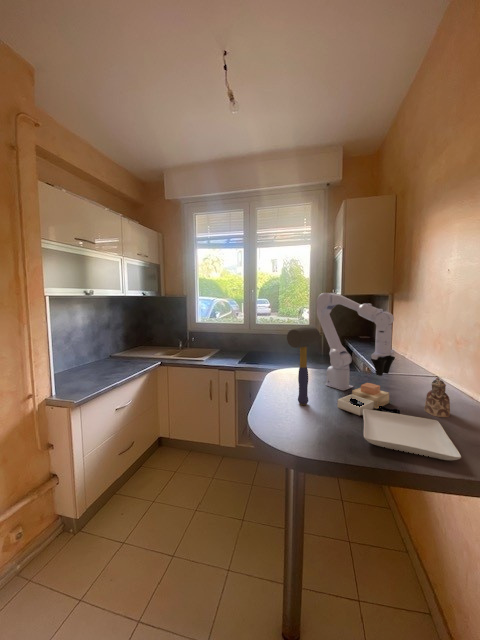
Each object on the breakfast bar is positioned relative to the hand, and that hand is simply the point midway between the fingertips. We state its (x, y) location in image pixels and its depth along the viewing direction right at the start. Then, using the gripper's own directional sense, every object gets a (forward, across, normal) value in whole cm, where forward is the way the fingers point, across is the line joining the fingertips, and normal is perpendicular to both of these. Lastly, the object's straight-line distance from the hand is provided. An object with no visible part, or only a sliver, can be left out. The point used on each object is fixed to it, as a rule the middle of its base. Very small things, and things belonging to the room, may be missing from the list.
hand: (382, 374), depth 105 cm
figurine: (+10, 0, -19) cm, 21 cm away
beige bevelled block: (+9, -9, 0) cm, 13 cm away
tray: (+9, -20, 0) cm, 22 cm away
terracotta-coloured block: (+5, -9, 0) cm, 10 cm away
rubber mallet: (+10, -32, +14) cm, 36 cm away
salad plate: (+10, -27, -19) cm, 35 cm away
